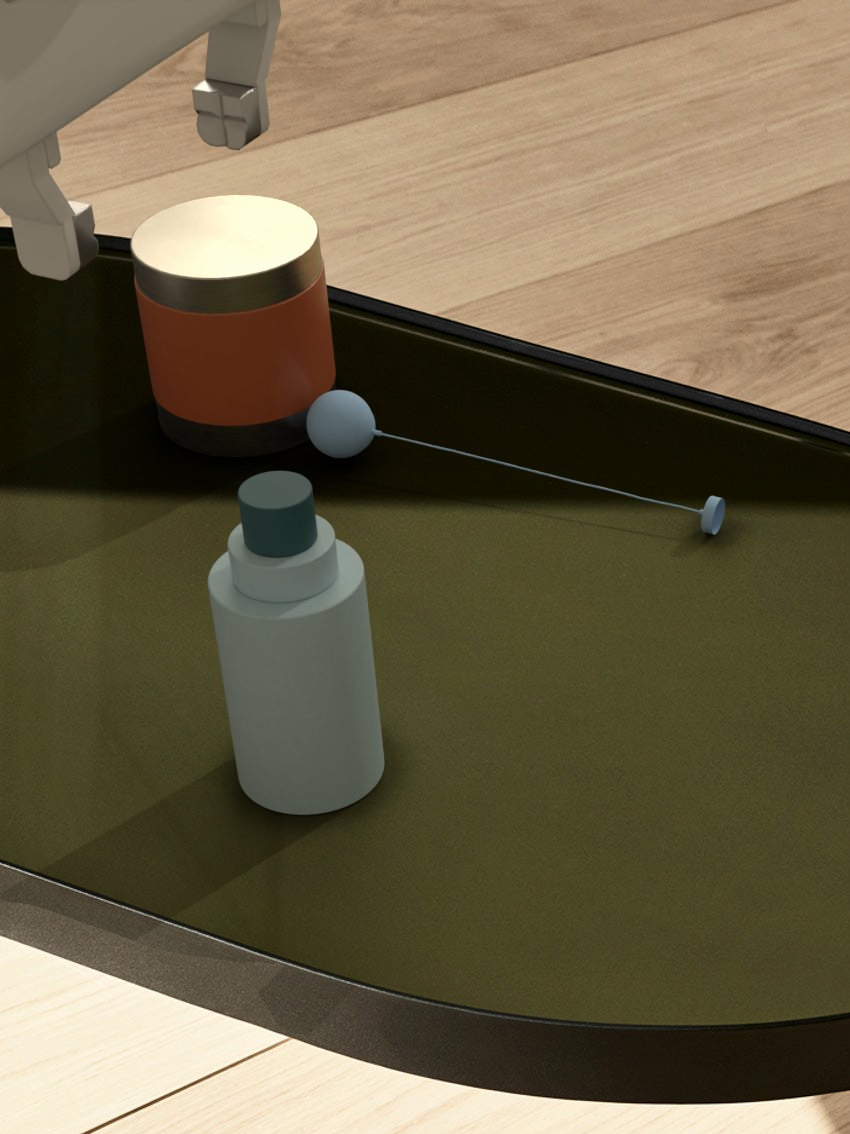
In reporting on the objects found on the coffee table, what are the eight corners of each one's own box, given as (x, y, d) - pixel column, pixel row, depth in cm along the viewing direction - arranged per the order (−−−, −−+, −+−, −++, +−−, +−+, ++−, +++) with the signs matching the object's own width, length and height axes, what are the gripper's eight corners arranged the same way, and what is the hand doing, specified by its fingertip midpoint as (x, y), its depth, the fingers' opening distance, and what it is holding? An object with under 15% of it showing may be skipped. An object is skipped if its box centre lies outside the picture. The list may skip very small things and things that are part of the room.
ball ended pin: (701, 556, 100) (713, 486, 99) (291, 453, 105) (298, 386, 104) (722, 545, 102) (735, 477, 101) (321, 445, 108) (329, 380, 107)
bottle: (214, 757, 89) (167, 478, 81) (342, 708, 92) (309, 432, 84) (278, 834, 86) (236, 551, 78) (410, 781, 88) (383, 500, 80)
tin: (128, 400, 110) (97, 224, 105) (289, 350, 114) (267, 178, 108) (205, 478, 105) (177, 297, 99) (371, 423, 108) (353, 245, 103)
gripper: (187, -399, 68) (243, 59, 77) (-284, -203, 54) (-147, 329, 63) (373, -380, 66) (409, 88, 75) (-65, -171, 52) (44, 373, 61)
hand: (152, 200), depth 69 cm, fingers open, 8 cm apart
